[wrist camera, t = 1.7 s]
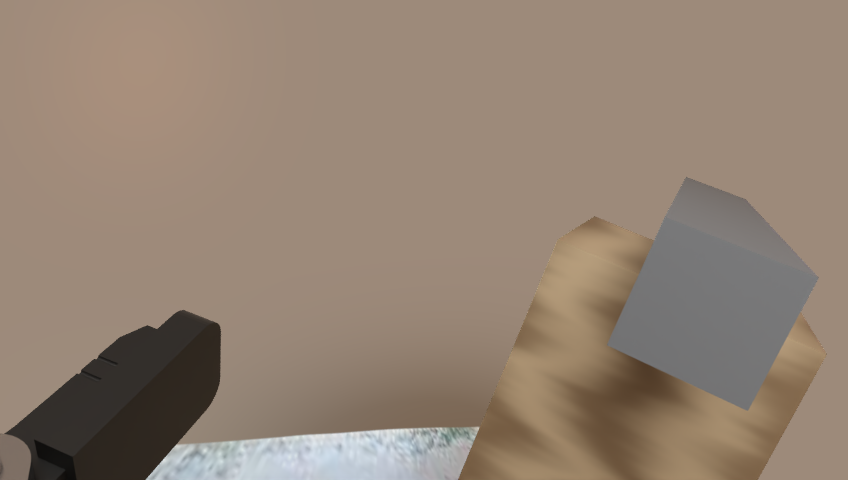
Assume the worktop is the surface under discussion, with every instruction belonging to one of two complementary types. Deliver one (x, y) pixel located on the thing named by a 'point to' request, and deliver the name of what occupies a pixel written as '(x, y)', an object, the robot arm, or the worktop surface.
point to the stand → (620, 387)
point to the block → (714, 296)
